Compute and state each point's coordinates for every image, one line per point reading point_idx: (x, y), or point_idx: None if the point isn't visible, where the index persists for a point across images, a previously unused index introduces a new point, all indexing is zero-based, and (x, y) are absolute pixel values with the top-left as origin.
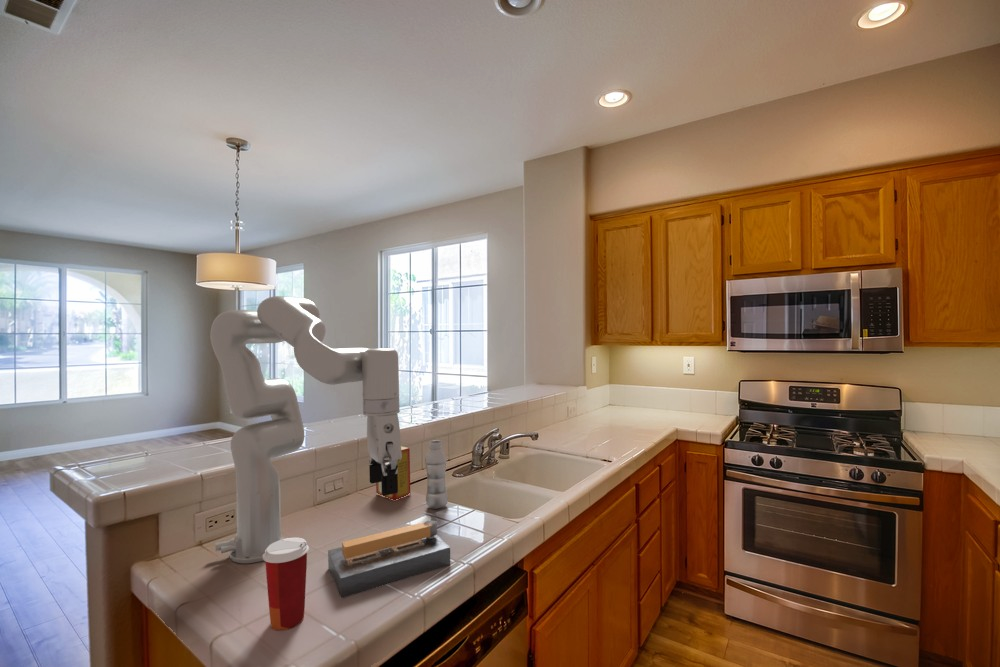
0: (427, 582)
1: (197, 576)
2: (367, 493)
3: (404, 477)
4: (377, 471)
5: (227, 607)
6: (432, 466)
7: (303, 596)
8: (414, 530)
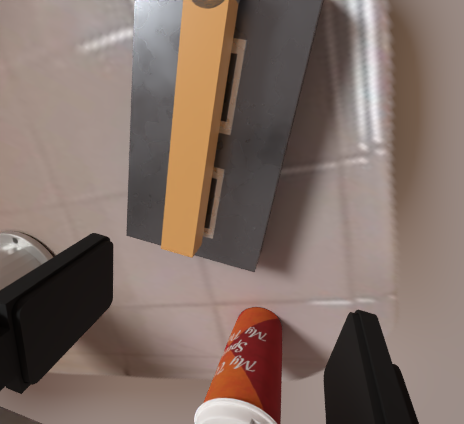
0: (346, 99)
1: None
2: None
3: None
4: (66, 316)
5: (168, 352)
6: None
7: (274, 342)
8: (219, 61)
